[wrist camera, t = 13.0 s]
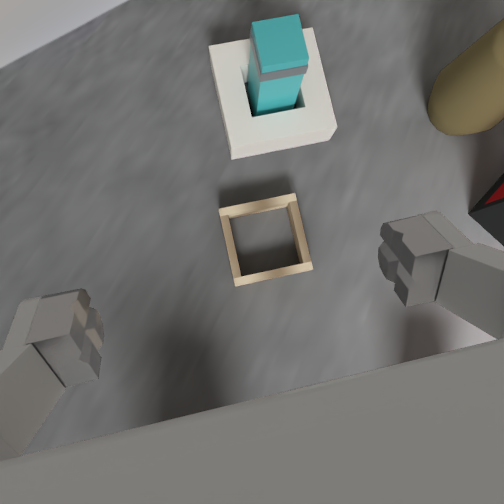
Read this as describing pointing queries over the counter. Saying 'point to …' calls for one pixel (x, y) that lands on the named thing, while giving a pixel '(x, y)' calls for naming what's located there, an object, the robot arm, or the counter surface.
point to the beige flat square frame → (297, 232)
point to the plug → (276, 64)
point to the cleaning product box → (492, 211)
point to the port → (276, 124)
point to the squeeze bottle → (471, 88)
